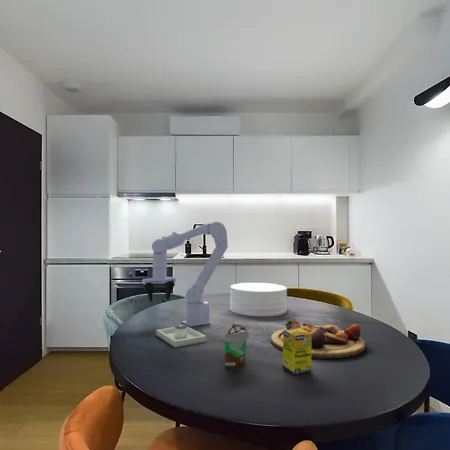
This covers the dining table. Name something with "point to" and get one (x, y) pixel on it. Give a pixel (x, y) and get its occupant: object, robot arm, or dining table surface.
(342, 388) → the dining table surface
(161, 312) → the dining table surface
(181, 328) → the shaker
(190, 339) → the tray
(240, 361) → the food container
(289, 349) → the supplement box
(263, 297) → the plate stack
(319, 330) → the wooden plate with food
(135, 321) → the dining table surface
